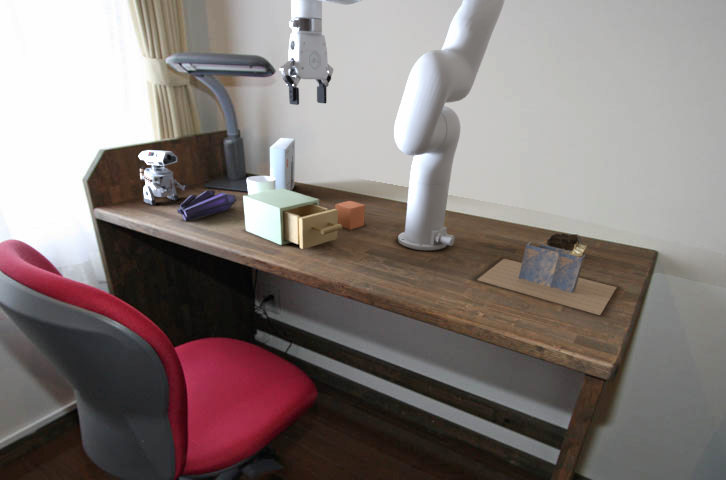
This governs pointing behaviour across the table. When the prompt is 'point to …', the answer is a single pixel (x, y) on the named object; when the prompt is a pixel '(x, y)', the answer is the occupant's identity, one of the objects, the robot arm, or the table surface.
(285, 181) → the skincare box
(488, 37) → the robot arm
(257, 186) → the white cup
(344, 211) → the plain salmon cube
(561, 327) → the table surface
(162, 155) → the figurine
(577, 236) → the rock sample
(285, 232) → the drawer
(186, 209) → the crystal
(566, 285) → the ruin model on sheet
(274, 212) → the cabinet
